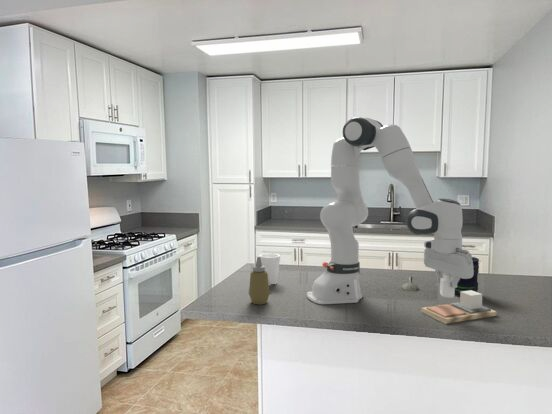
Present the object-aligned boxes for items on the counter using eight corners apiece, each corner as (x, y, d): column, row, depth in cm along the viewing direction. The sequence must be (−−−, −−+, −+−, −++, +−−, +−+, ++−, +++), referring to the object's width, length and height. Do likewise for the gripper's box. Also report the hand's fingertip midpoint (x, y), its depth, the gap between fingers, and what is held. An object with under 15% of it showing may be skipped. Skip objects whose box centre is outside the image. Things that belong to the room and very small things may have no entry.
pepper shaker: (443, 297, 138) (443, 270, 137) (439, 294, 142) (439, 268, 141) (455, 298, 137) (455, 270, 137) (450, 294, 141) (451, 268, 141)
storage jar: (447, 294, 164) (448, 258, 163) (456, 289, 171) (457, 254, 170) (473, 299, 157) (474, 262, 156) (481, 293, 164) (482, 258, 163)
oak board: (445, 323, 133) (445, 317, 133) (421, 311, 144) (421, 306, 144) (496, 315, 140) (496, 310, 140) (469, 304, 151) (469, 299, 151)
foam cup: (284, 282, 184) (283, 254, 183) (273, 287, 176) (272, 258, 175) (266, 279, 189) (266, 252, 188) (255, 284, 181) (255, 256, 180)
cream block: (470, 309, 141) (471, 295, 140) (459, 305, 145) (460, 291, 145) (481, 307, 142) (482, 294, 142) (470, 303, 147) (471, 290, 146)
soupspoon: (401, 293, 170) (417, 295, 168) (401, 285, 170) (418, 287, 168) (403, 278, 191) (417, 279, 189) (403, 271, 190) (418, 272, 188)
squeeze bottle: (254, 307, 151) (253, 260, 149) (245, 301, 158) (245, 256, 156) (273, 303, 154) (272, 257, 153) (264, 298, 162) (263, 254, 160)
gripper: (479, 250, 129) (477, 292, 130) (435, 240, 149) (434, 277, 150) (463, 252, 127) (462, 294, 128) (421, 241, 147) (420, 278, 148)
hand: (446, 285), depth 139 cm, fingers closed on pepper shaker, 5 cm apart
